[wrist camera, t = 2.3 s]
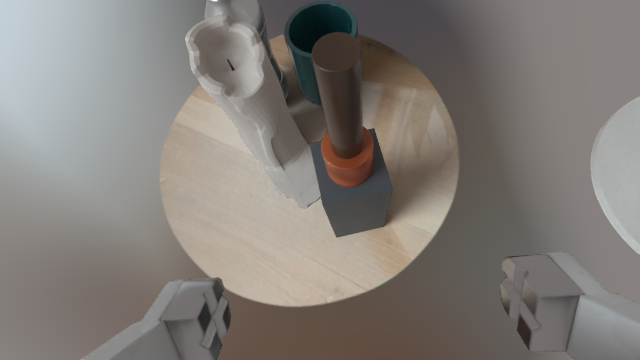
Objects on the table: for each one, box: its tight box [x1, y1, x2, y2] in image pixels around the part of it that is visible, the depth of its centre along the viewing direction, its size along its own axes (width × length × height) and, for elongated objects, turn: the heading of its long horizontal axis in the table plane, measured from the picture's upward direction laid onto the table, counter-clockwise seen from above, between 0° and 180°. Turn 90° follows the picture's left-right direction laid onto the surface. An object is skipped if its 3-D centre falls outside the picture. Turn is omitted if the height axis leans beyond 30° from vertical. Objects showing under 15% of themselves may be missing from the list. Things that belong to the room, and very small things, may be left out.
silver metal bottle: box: [205, 0, 288, 101], centre depth 40 cm, size 6×7×20 cm
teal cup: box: [284, 0, 358, 105], centre depth 45 cm, size 9×9×10 cm
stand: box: [310, 128, 393, 237], centre depth 36 cm, size 6×6×14 cm
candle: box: [185, 13, 321, 208], centre depth 36 cm, size 7×14×20 cm, turn 32°
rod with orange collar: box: [312, 32, 374, 187], centre depth 23 cm, size 4×4×14 cm
